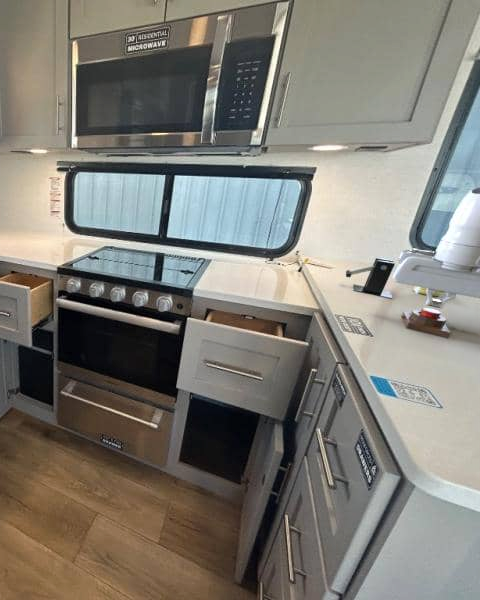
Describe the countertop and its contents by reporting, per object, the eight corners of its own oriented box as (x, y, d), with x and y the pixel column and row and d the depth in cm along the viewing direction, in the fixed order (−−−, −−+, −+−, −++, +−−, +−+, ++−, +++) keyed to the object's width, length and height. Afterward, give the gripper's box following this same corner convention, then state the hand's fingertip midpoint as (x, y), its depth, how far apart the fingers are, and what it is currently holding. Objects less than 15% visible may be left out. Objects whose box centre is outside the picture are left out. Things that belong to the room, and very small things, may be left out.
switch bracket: (352, 293, 111) (366, 259, 106) (352, 287, 117) (365, 255, 112) (391, 301, 105) (407, 266, 101) (388, 294, 111) (404, 261, 107)
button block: (401, 316, 94) (406, 305, 93) (439, 325, 90) (445, 313, 89) (405, 328, 87) (411, 316, 86) (448, 338, 83) (455, 326, 81)
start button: (418, 312, 90) (421, 306, 89) (436, 316, 88) (439, 310, 87) (420, 316, 87) (423, 310, 86) (439, 320, 85) (442, 314, 84)
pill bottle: (441, 300, 109) (459, 267, 104) (417, 297, 111) (433, 264, 106) (430, 294, 115) (446, 262, 110) (407, 290, 117) (422, 259, 112)
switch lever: (347, 279, 112) (344, 272, 112) (346, 275, 116) (344, 269, 115) (390, 269, 104) (388, 262, 104) (389, 266, 108) (386, 259, 108)
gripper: (405, 249, 84) (383, 298, 89) (528, 267, 73) (493, 322, 78) (402, 245, 89) (381, 292, 94) (516, 261, 78) (485, 314, 83)
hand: (433, 306), depth 86 cm, fingers closed
